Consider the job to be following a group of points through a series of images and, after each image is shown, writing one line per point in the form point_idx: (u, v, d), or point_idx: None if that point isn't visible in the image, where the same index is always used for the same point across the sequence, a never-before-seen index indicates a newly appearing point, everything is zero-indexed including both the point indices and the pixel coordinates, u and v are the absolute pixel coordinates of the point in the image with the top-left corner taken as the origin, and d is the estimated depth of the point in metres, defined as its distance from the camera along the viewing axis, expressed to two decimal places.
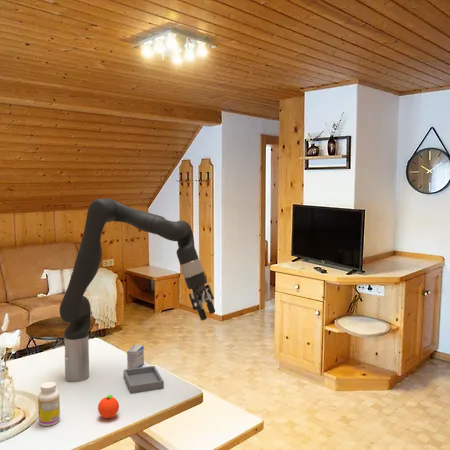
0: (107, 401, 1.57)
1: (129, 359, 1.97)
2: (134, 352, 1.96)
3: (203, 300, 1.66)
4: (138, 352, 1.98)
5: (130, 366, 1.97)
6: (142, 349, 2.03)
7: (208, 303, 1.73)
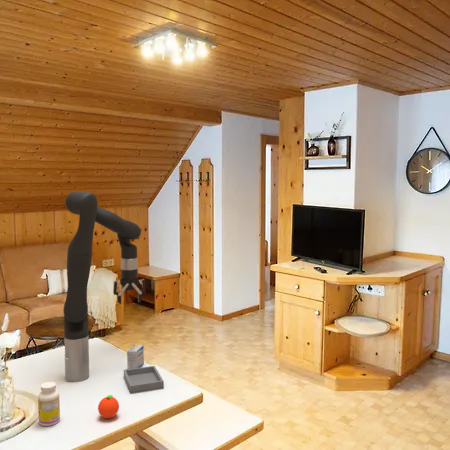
0: (107, 401, 1.57)
1: (129, 359, 1.97)
2: (134, 352, 1.96)
3: None
4: (138, 352, 1.98)
5: (130, 366, 1.97)
6: (142, 349, 2.03)
7: (120, 295, 2.12)
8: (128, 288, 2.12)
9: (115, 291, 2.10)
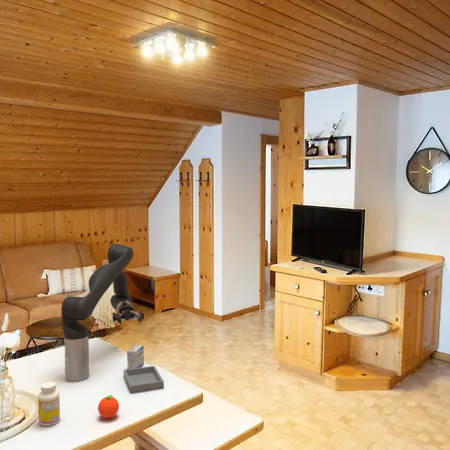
0: (107, 401, 1.57)
1: (129, 359, 1.97)
2: (134, 352, 1.96)
3: (135, 319, 2.20)
4: (138, 352, 1.98)
5: (130, 366, 1.97)
6: (142, 349, 2.03)
7: None
8: (126, 314, 2.19)
9: (114, 315, 2.16)
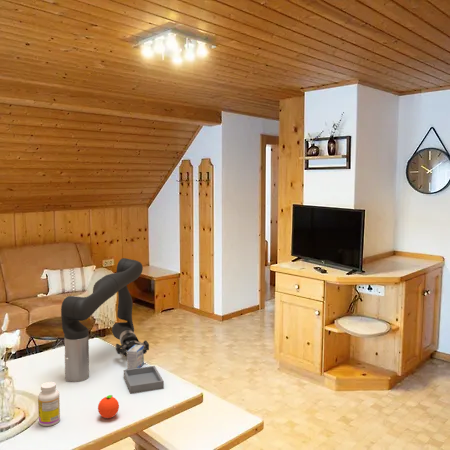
0: (107, 401, 1.57)
1: (129, 359, 1.97)
2: (134, 352, 1.96)
3: None
4: (138, 352, 1.98)
5: (130, 366, 1.97)
6: (142, 349, 2.02)
7: None
8: (131, 345, 2.08)
9: (118, 347, 2.05)
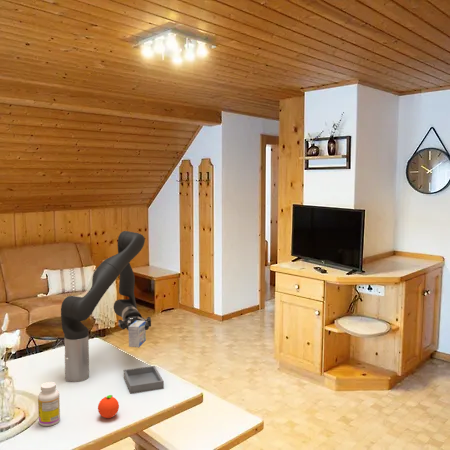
0: (107, 401, 1.57)
1: (130, 335, 1.87)
2: (136, 327, 1.86)
3: None
4: (140, 327, 1.88)
5: (131, 342, 1.87)
6: (144, 325, 1.92)
7: None
8: (134, 320, 1.99)
9: (122, 322, 1.95)
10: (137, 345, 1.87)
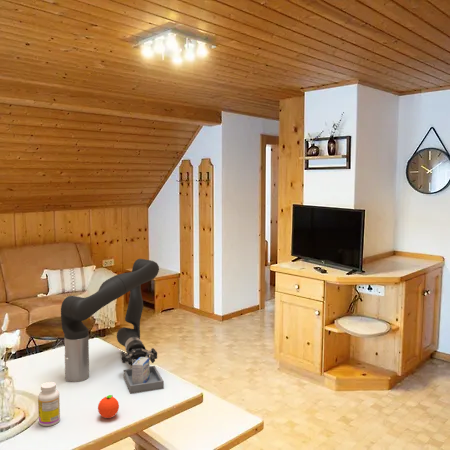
0: (107, 401, 1.57)
1: (134, 373, 1.82)
2: (139, 366, 1.81)
3: None
4: (144, 365, 1.83)
5: (135, 380, 1.82)
6: (148, 362, 1.87)
7: None
8: (137, 353, 1.93)
9: (123, 355, 1.90)
10: None
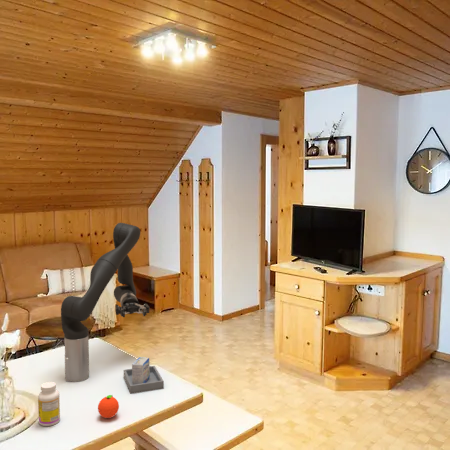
0: (107, 401, 1.57)
1: (134, 373, 1.82)
2: (139, 366, 1.81)
3: (139, 313, 2.04)
4: (144, 365, 1.83)
5: (135, 380, 1.82)
6: (148, 362, 1.87)
7: None
8: (130, 307, 2.03)
9: (117, 308, 2.00)
10: None
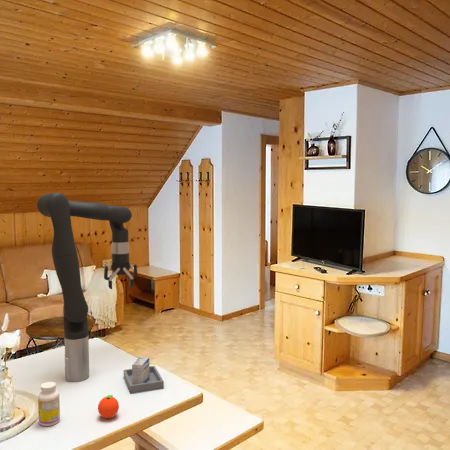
0: (107, 401, 1.57)
1: (134, 373, 1.82)
2: (139, 366, 1.81)
3: None
4: (144, 365, 1.83)
5: (135, 380, 1.82)
6: (148, 362, 1.87)
7: (111, 280, 2.06)
8: (119, 273, 2.06)
9: (106, 276, 2.04)
10: None
